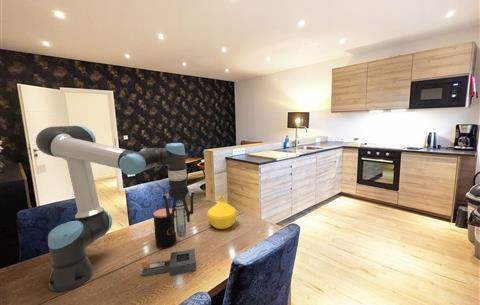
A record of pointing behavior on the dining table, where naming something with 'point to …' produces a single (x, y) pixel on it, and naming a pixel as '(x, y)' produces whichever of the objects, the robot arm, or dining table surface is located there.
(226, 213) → the vase
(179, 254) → the dock
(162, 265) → the bolt
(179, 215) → the peg
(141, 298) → the dining table surface
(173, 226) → the coffee jar
